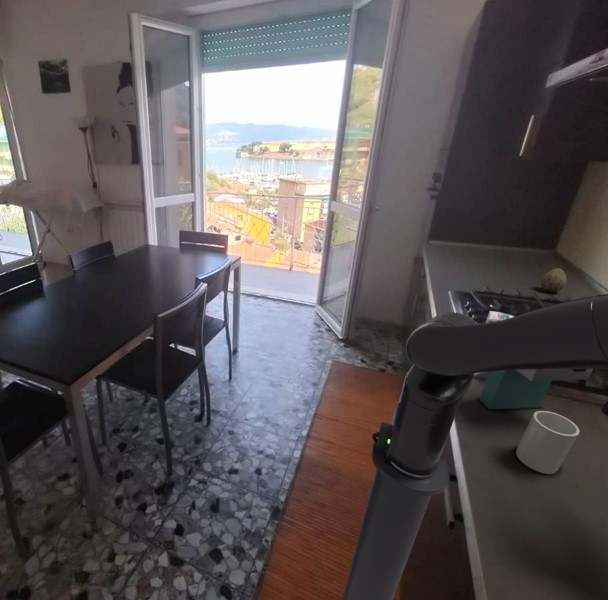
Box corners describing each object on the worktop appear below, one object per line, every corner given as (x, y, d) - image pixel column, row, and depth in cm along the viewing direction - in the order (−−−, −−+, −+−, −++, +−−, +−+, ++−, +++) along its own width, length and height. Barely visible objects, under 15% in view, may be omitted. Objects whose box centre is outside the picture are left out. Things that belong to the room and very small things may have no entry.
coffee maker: (478, 399, 87) (504, 333, 79) (526, 397, 88) (557, 331, 80) (510, 429, 79) (543, 358, 70) (563, 427, 79) (602, 356, 71)
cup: (519, 466, 70) (538, 428, 66) (513, 443, 75) (530, 406, 71) (562, 479, 67) (584, 440, 63) (552, 454, 72) (572, 417, 68)
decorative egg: (566, 294, 140) (576, 270, 136) (551, 296, 139) (562, 272, 134) (546, 287, 146) (556, 264, 142) (532, 289, 145) (542, 266, 141)
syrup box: (498, 369, 98) (516, 324, 92) (472, 362, 101) (488, 317, 95) (498, 360, 102) (516, 315, 96) (473, 353, 105) (489, 309, 99)
